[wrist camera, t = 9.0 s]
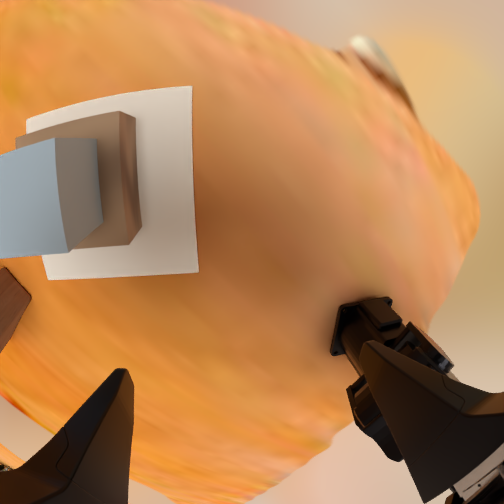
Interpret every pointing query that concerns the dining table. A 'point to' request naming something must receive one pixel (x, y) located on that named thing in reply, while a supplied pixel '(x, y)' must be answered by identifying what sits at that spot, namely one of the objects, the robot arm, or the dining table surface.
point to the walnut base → (106, 172)
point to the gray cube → (48, 197)
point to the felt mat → (142, 188)
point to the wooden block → (10, 305)
